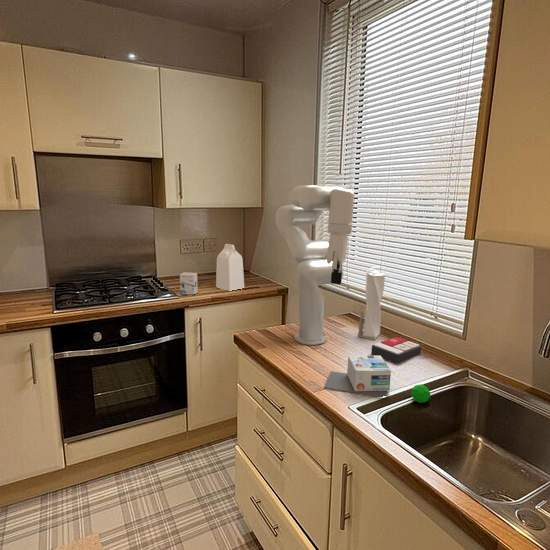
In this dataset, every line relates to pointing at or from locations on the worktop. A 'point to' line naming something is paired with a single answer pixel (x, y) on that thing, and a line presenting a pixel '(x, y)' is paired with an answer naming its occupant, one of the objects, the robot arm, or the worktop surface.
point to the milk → (229, 269)
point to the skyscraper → (372, 305)
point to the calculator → (396, 350)
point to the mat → (347, 385)
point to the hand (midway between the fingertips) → (336, 283)
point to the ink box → (188, 283)
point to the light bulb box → (368, 373)
